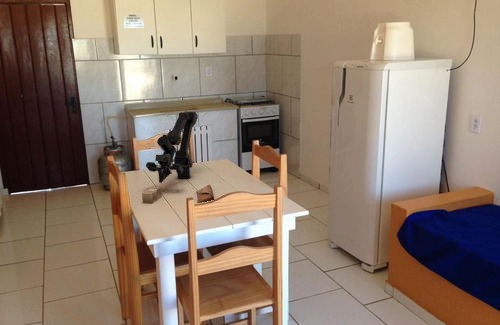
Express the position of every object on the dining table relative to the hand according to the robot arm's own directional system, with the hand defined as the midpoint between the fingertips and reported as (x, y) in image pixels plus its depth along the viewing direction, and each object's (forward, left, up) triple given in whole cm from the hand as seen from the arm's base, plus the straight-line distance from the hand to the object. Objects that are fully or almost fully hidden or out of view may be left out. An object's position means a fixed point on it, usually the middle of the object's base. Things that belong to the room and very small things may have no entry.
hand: (160, 182), depth 221 cm
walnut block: (+1, +4, -4) cm, 6 cm away
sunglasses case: (-22, +6, -7) cm, 24 cm away
